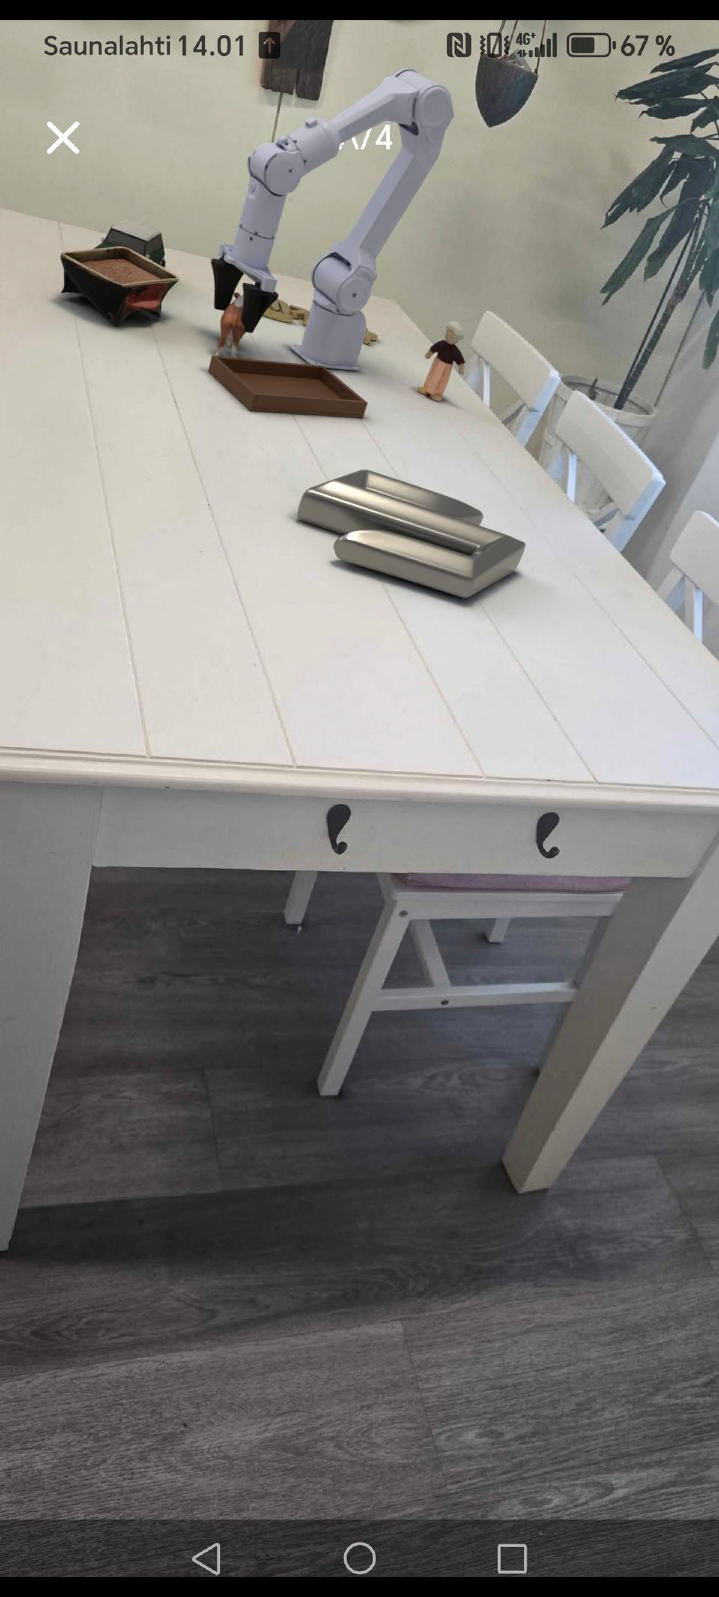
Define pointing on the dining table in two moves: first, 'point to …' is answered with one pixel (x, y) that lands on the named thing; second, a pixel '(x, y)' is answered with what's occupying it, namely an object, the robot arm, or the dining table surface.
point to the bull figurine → (232, 325)
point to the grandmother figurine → (444, 361)
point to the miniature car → (136, 240)
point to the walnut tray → (286, 387)
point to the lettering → (300, 316)
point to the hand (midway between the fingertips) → (232, 320)
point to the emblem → (410, 532)
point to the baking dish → (117, 281)
